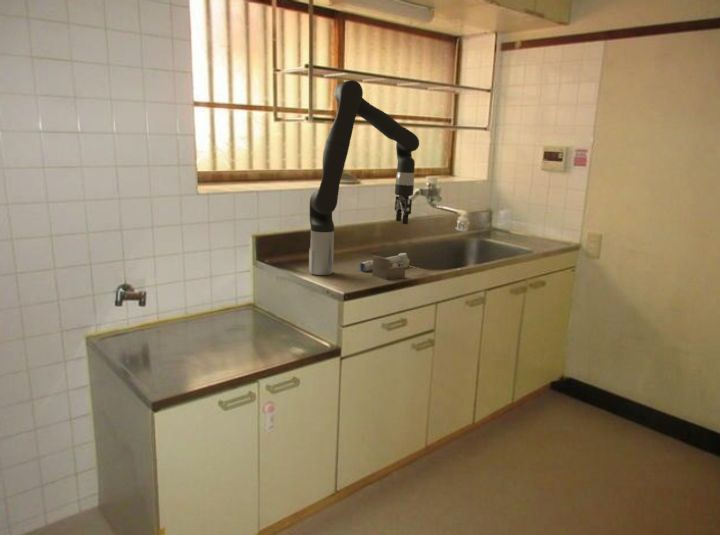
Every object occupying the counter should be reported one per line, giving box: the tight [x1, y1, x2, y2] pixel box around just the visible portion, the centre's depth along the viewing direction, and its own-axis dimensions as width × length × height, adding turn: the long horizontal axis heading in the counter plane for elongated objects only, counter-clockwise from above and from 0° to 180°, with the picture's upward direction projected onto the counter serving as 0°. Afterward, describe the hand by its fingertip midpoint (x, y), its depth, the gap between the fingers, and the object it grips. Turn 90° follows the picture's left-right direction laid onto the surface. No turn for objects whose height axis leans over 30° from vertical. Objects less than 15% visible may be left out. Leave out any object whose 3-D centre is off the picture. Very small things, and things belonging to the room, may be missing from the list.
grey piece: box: [358, 252, 411, 273], centre depth 228 cm, size 5×7×25 cm
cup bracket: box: [371, 255, 406, 281], centre depth 214 cm, size 9×9×8 cm
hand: (401, 222), depth 224 cm, fingers open, 8 cm apart
